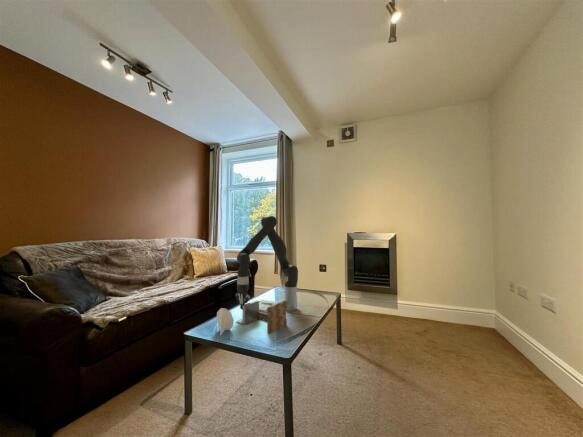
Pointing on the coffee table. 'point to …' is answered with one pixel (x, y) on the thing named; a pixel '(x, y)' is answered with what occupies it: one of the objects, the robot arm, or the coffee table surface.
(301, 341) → the coffee table surface
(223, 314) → the white faceted rounded block
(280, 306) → the end panel
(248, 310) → the bookend
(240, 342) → the coffee table surface
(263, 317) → the shelf rail
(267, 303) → the skincare box
